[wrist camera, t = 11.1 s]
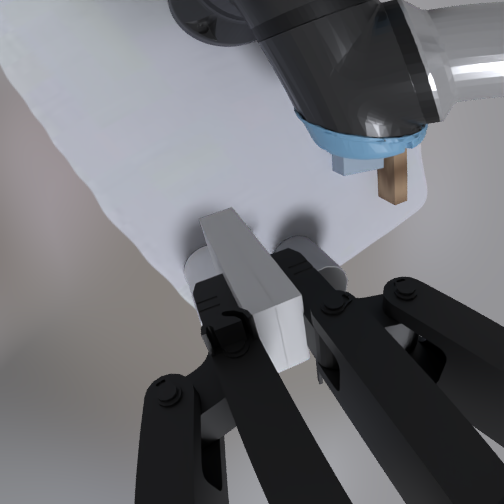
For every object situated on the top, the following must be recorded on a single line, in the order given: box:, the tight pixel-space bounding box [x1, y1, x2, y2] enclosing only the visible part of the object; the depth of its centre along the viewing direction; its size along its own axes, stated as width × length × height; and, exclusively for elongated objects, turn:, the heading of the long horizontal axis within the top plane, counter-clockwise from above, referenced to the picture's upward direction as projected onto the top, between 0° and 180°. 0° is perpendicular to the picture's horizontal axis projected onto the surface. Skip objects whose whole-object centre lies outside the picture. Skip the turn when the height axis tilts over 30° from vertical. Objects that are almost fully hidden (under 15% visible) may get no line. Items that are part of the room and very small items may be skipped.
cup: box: [274, 236, 348, 292], centre depth 49 cm, size 8×8×10 cm
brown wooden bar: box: [377, 148, 407, 205], centre depth 46 cm, size 24×3×4 cm, turn 12°
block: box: [332, 154, 384, 176], centre depth 45 cm, size 10×8×4 cm
